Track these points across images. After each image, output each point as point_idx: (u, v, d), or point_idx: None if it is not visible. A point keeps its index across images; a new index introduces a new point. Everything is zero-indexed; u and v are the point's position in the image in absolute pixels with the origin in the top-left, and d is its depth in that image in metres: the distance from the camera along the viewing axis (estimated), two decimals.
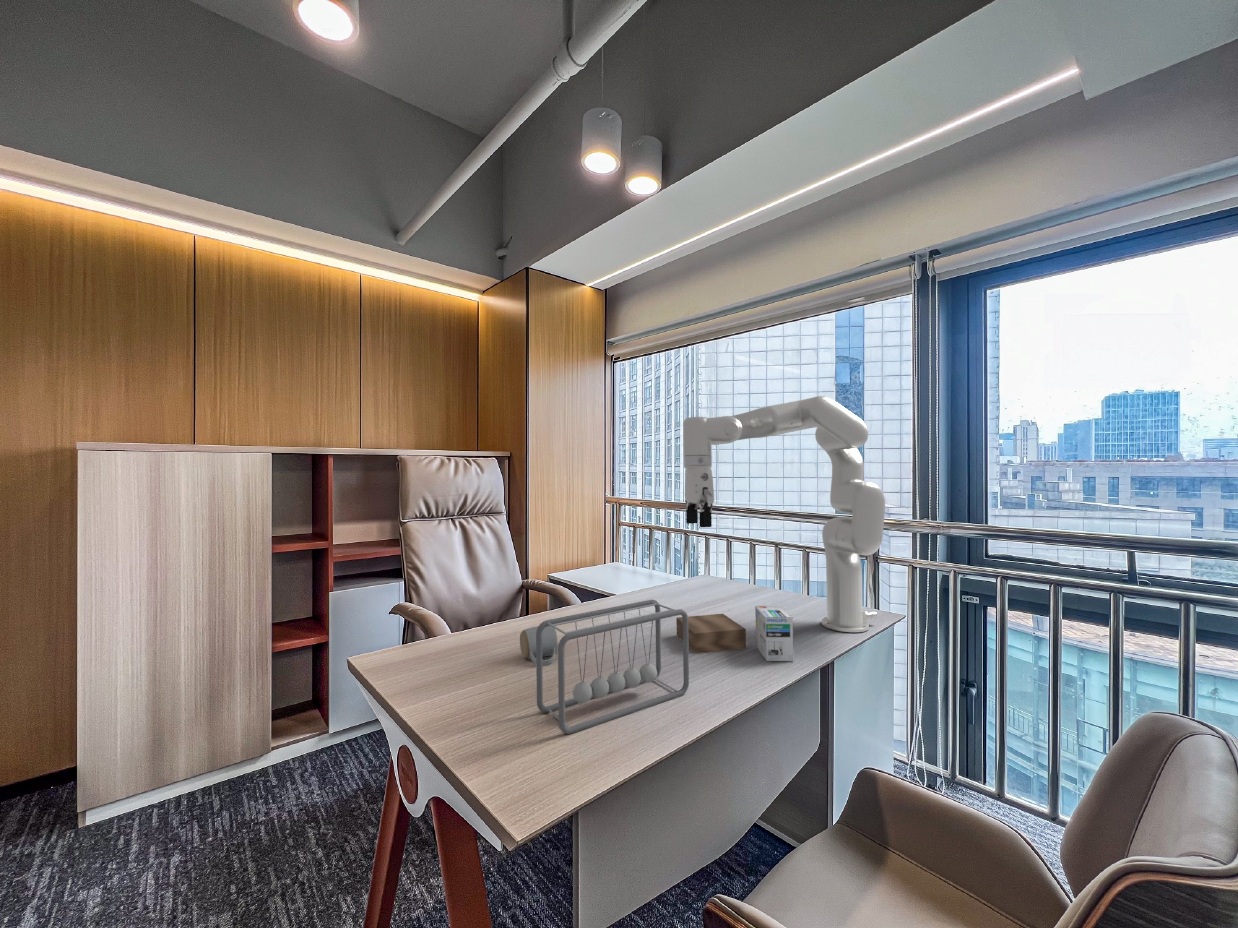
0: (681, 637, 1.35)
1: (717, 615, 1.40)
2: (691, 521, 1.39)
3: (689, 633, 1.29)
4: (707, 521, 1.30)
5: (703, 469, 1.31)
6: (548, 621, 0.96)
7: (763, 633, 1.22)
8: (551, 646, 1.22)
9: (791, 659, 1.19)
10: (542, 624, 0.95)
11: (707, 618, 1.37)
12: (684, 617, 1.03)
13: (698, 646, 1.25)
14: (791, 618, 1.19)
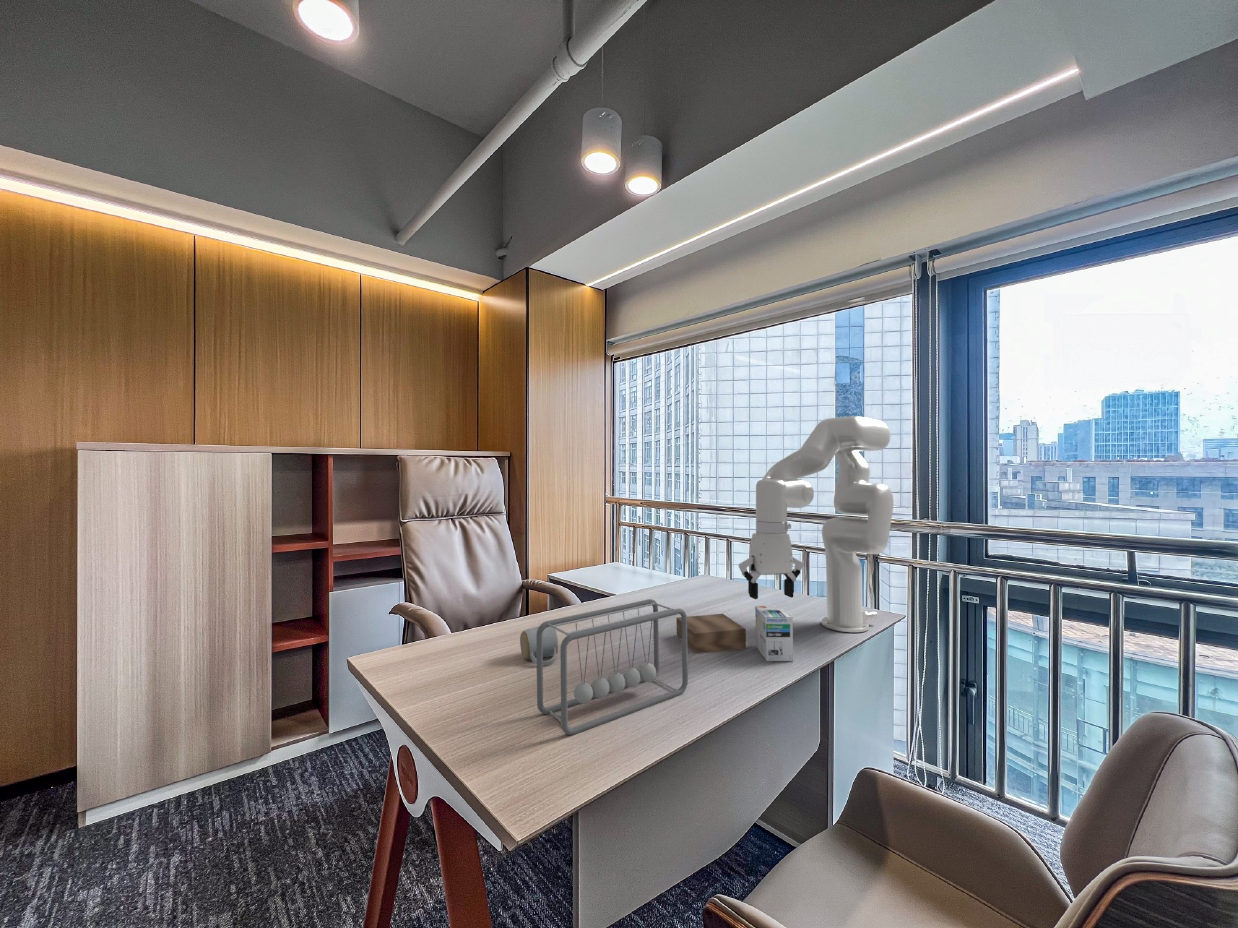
0: (681, 637, 1.35)
1: (717, 615, 1.40)
2: None
3: (689, 633, 1.29)
4: None
5: None
6: (549, 622, 0.95)
7: (763, 633, 1.22)
8: (551, 647, 1.22)
9: (791, 659, 1.19)
10: (542, 625, 0.95)
11: (707, 618, 1.37)
12: (683, 616, 1.03)
13: (698, 646, 1.25)
14: (791, 618, 1.19)
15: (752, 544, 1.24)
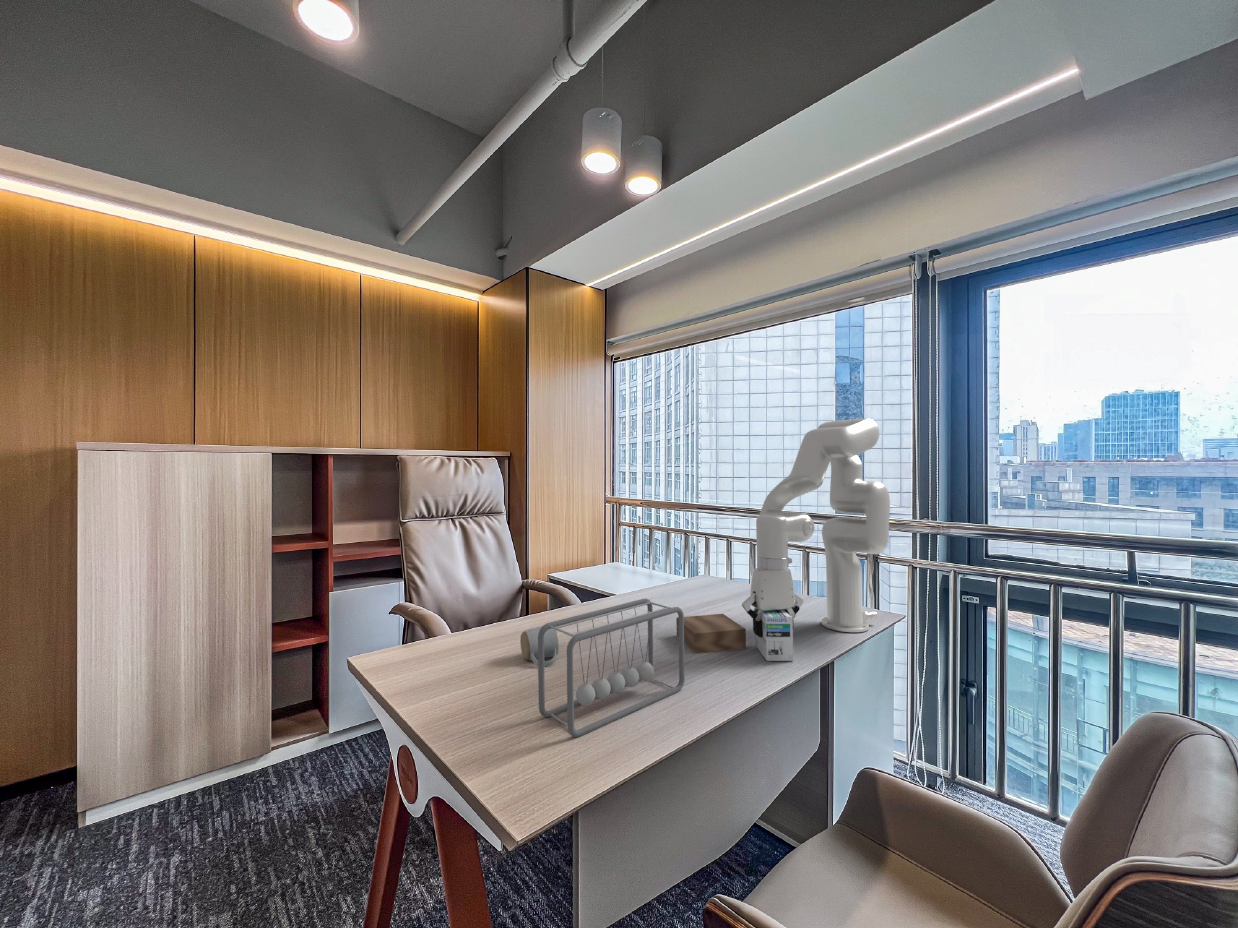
0: None
1: (717, 615, 1.40)
2: None
3: (689, 633, 1.29)
4: None
5: None
6: (550, 624, 0.94)
7: (763, 633, 1.22)
8: (552, 647, 1.21)
9: (791, 659, 1.19)
10: (544, 627, 0.93)
11: (707, 618, 1.37)
12: (680, 614, 1.05)
13: (698, 646, 1.25)
14: (791, 618, 1.19)
15: (753, 580, 1.24)
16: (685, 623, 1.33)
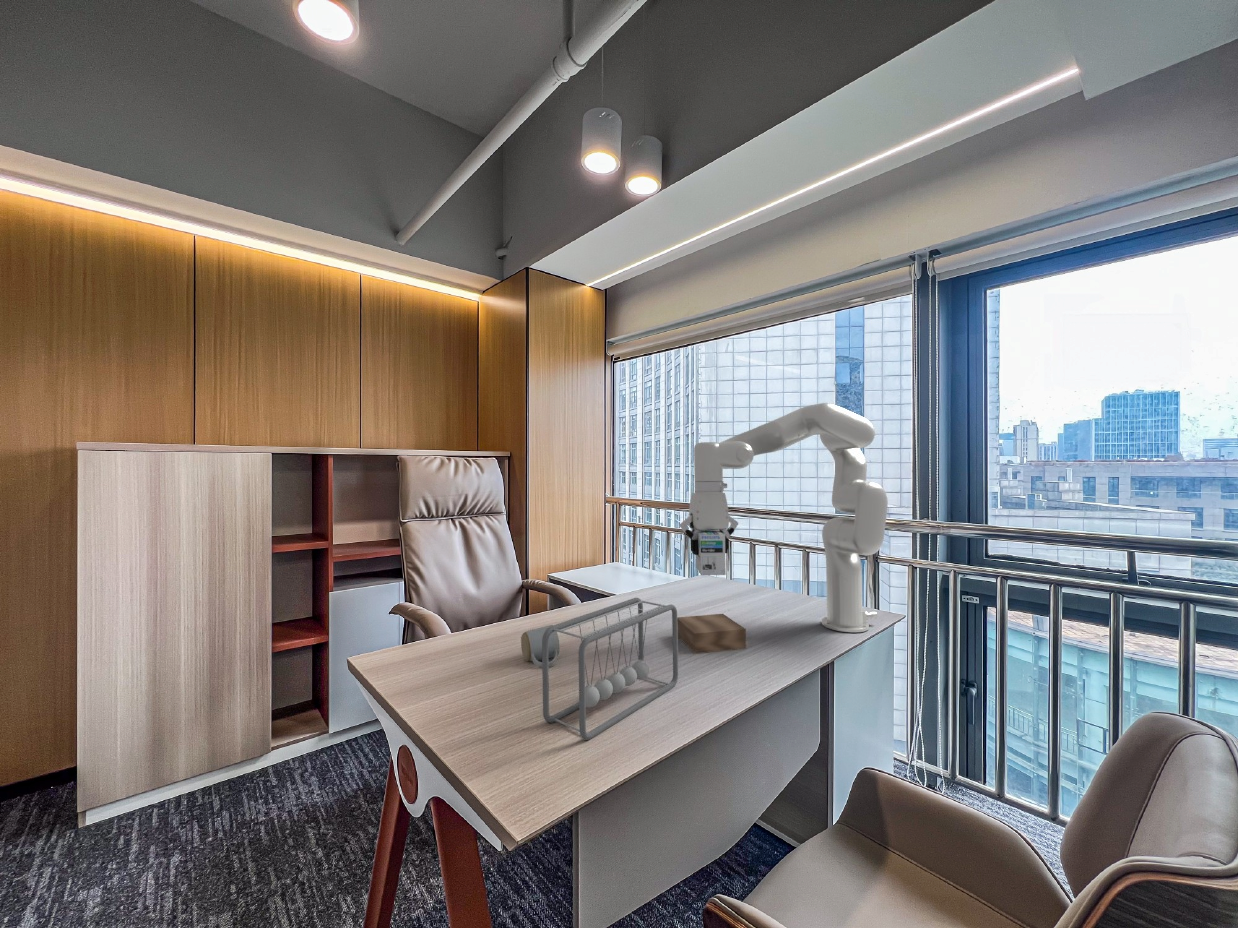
0: (681, 637, 1.35)
1: (717, 615, 1.40)
2: None
3: (689, 633, 1.29)
4: None
5: None
6: (554, 627, 0.92)
7: None
8: (553, 648, 1.21)
9: (723, 573, 1.28)
10: (548, 630, 0.91)
11: (707, 618, 1.37)
12: (674, 612, 1.07)
13: (698, 646, 1.25)
14: (724, 535, 1.28)
15: (691, 503, 1.33)
16: (685, 623, 1.33)
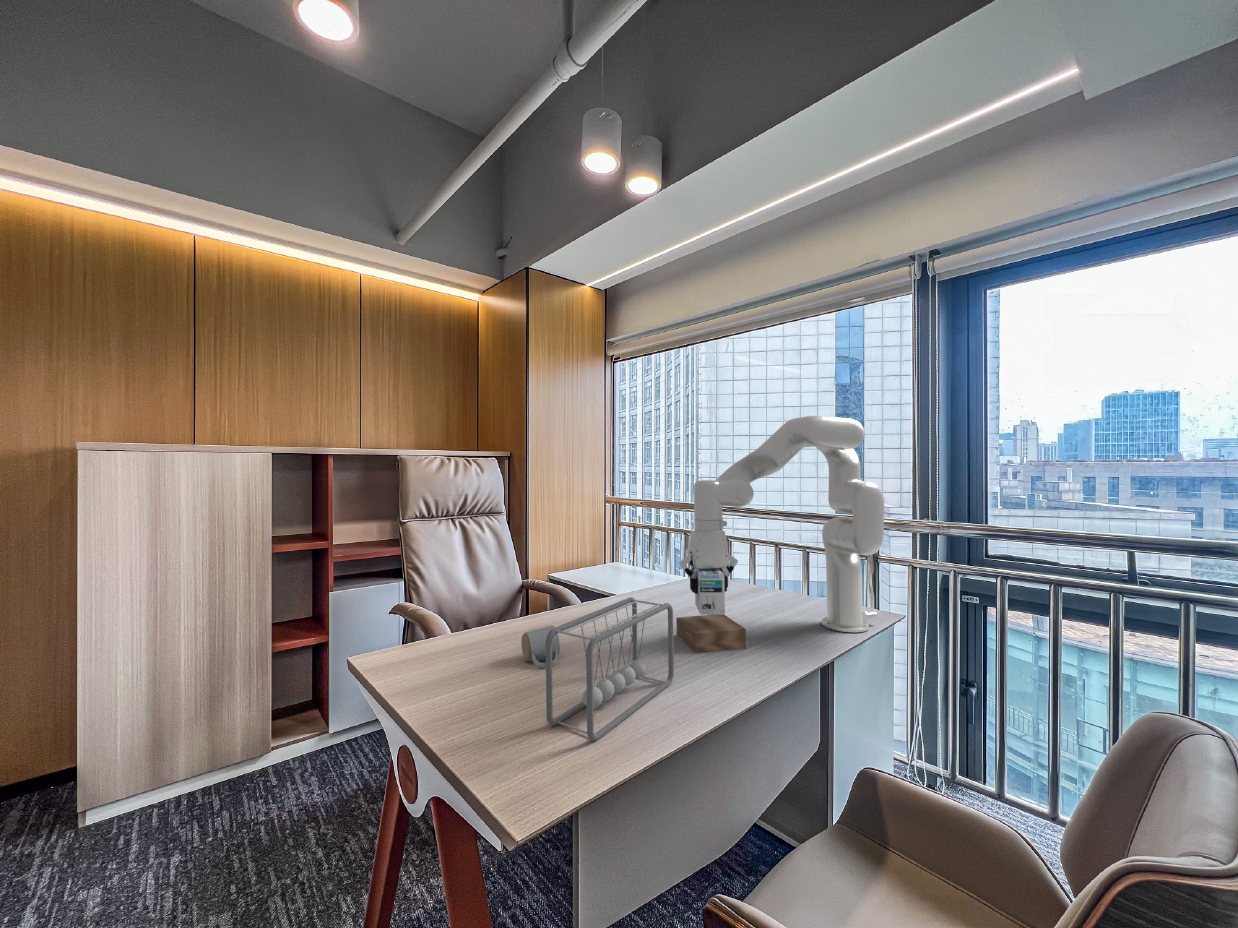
0: (681, 637, 1.35)
1: (717, 615, 1.40)
2: None
3: (689, 633, 1.29)
4: None
5: None
6: (557, 629, 0.91)
7: (698, 589, 1.31)
8: (553, 649, 1.20)
9: (723, 613, 1.28)
10: (552, 632, 0.90)
11: (707, 618, 1.37)
12: (670, 610, 1.08)
13: (698, 646, 1.25)
14: (723, 575, 1.28)
15: (690, 541, 1.33)
16: (685, 623, 1.33)
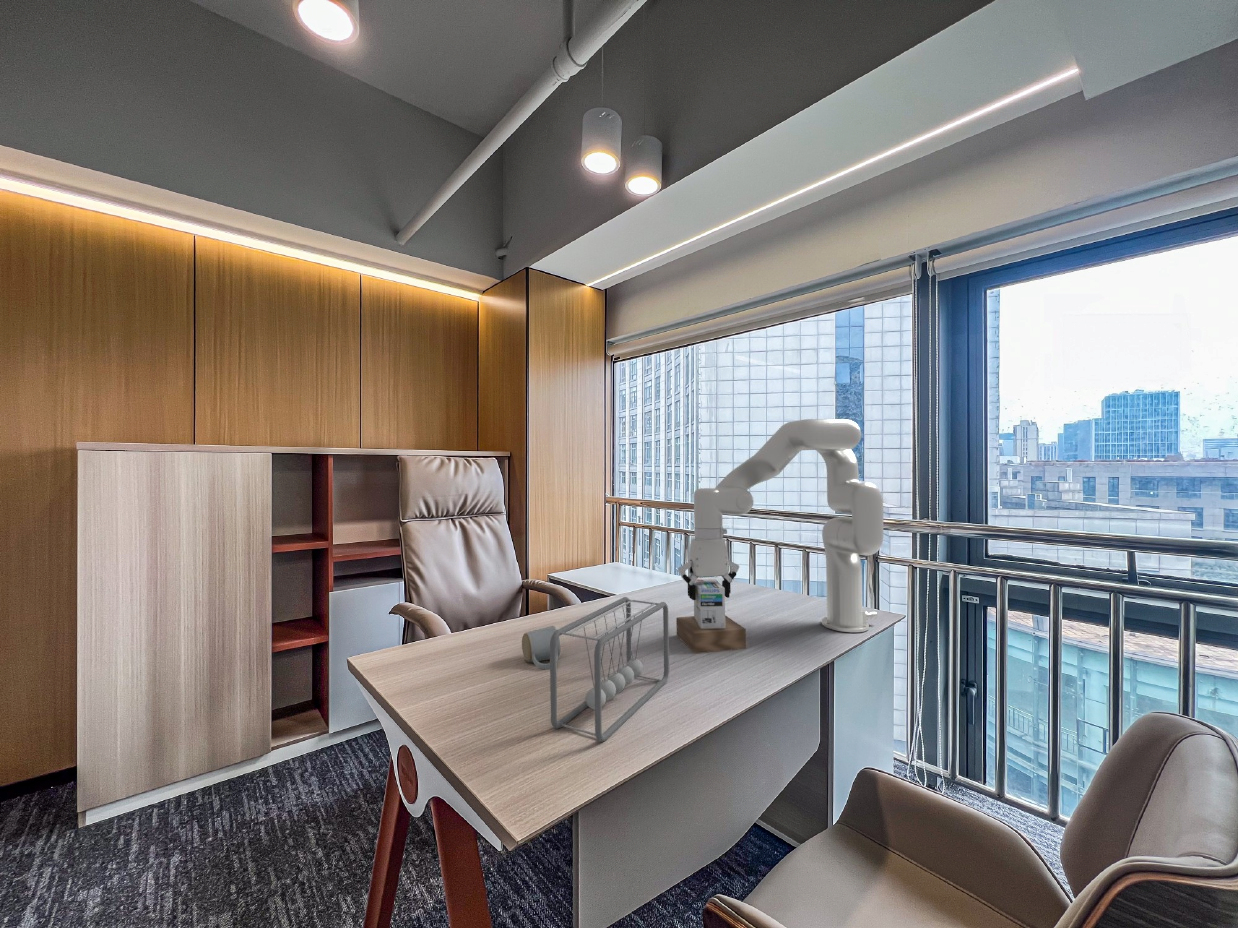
0: (681, 637, 1.35)
1: None
2: None
3: (689, 633, 1.29)
4: None
5: None
6: (561, 631, 0.90)
7: (698, 603, 1.31)
8: None
9: (723, 626, 1.28)
10: (556, 634, 0.89)
11: None
12: (666, 609, 1.09)
13: (698, 646, 1.25)
14: (723, 588, 1.28)
15: (690, 549, 1.33)
16: (685, 623, 1.33)
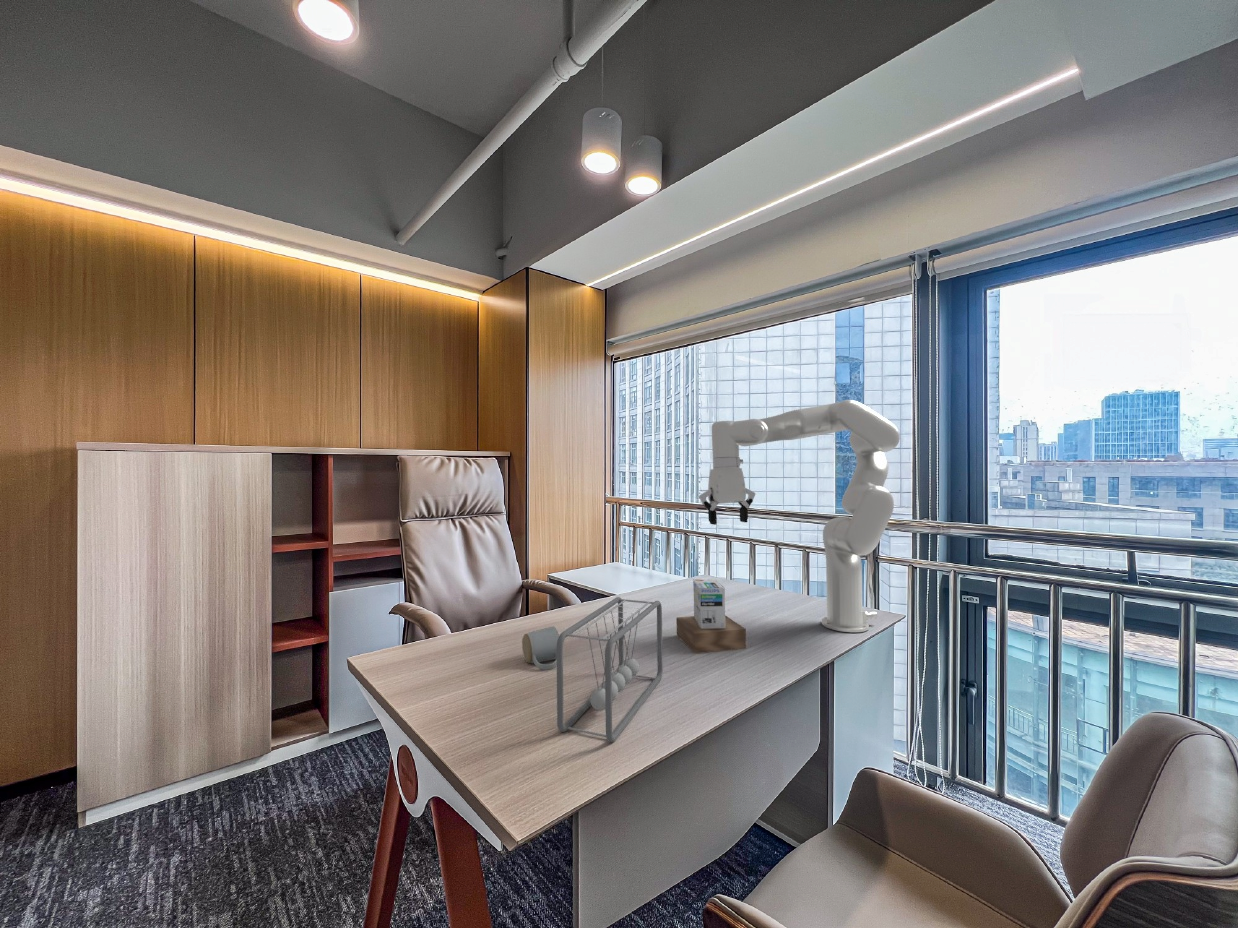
0: (681, 637, 1.35)
1: None
2: None
3: (689, 633, 1.29)
4: None
5: None
6: (566, 632, 0.89)
7: (698, 603, 1.31)
8: (554, 650, 1.19)
9: (723, 626, 1.28)
10: (562, 636, 0.88)
11: None
12: (659, 607, 1.10)
13: (698, 646, 1.25)
14: (723, 588, 1.28)
15: (710, 478, 1.42)
16: (685, 623, 1.33)
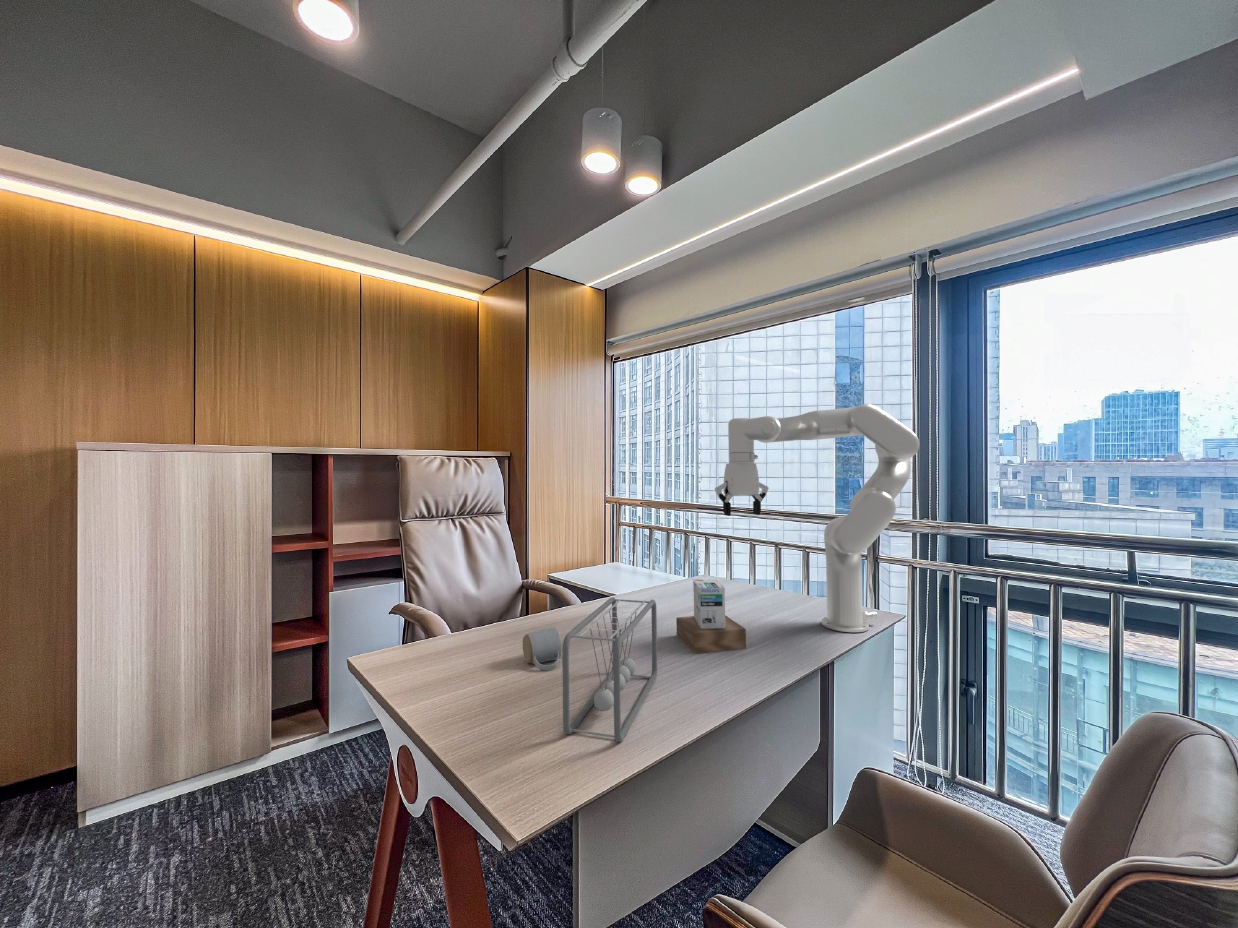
0: (681, 637, 1.35)
1: None
2: None
3: (689, 633, 1.29)
4: None
5: None
6: (571, 634, 0.88)
7: (698, 603, 1.31)
8: (555, 650, 1.19)
9: (723, 626, 1.28)
10: (568, 638, 0.87)
11: None
12: (654, 606, 1.11)
13: (698, 646, 1.25)
14: (723, 588, 1.28)
15: (725, 472, 1.51)
16: (685, 623, 1.33)
